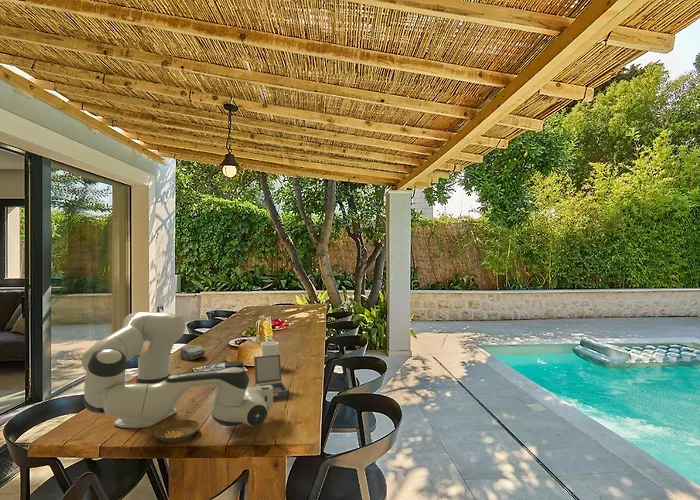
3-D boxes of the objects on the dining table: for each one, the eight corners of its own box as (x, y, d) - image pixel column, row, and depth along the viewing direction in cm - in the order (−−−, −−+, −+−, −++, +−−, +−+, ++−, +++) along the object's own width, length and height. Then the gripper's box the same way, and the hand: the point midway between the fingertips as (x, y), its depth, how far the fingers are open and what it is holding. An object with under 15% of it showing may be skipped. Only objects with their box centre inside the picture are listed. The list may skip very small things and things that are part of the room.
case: (288, 398, 178) (288, 377, 178) (260, 401, 174) (261, 380, 174) (278, 384, 195) (278, 366, 195) (253, 388, 191) (253, 368, 191)
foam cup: (266, 370, 218) (266, 346, 218) (257, 366, 225) (257, 343, 225) (281, 367, 225) (281, 343, 225) (273, 363, 232) (273, 340, 232)
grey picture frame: (279, 354, 193) (279, 354, 194) (254, 357, 188) (254, 357, 189) (281, 380, 190) (281, 380, 191) (255, 384, 185) (255, 384, 186)
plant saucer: (198, 442, 137) (198, 434, 137) (149, 448, 133) (149, 440, 133) (201, 424, 151) (201, 417, 151) (157, 429, 147) (157, 421, 147)
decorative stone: (205, 355, 237) (199, 338, 238) (181, 365, 233) (175, 349, 234) (207, 353, 251) (201, 338, 252) (185, 363, 247) (178, 347, 248)
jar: (246, 386, 193) (246, 360, 193) (241, 392, 185) (241, 365, 185) (226, 386, 193) (227, 360, 193) (221, 392, 185) (221, 365, 185)
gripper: (219, 412, 147) (215, 399, 160) (276, 404, 155) (268, 392, 168) (219, 395, 147) (216, 383, 160) (276, 387, 155) (268, 377, 168)
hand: (243, 388), depth 164 cm, fingers open, 8 cm apart
